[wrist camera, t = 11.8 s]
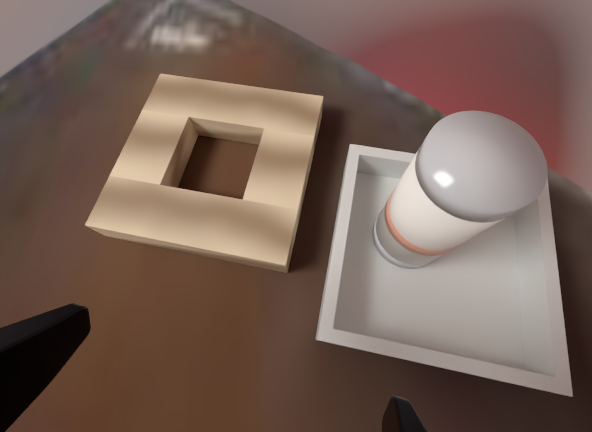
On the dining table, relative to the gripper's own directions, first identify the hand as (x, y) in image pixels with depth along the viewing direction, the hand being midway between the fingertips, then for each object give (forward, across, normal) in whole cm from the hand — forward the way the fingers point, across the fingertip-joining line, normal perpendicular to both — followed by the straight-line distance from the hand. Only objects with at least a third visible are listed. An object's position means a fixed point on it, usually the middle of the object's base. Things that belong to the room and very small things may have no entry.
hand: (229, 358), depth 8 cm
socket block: (+18, +8, 0) cm, 20 cm away
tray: (+15, -9, +3) cm, 18 cm away
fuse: (+16, -8, +2) cm, 17 cm away
